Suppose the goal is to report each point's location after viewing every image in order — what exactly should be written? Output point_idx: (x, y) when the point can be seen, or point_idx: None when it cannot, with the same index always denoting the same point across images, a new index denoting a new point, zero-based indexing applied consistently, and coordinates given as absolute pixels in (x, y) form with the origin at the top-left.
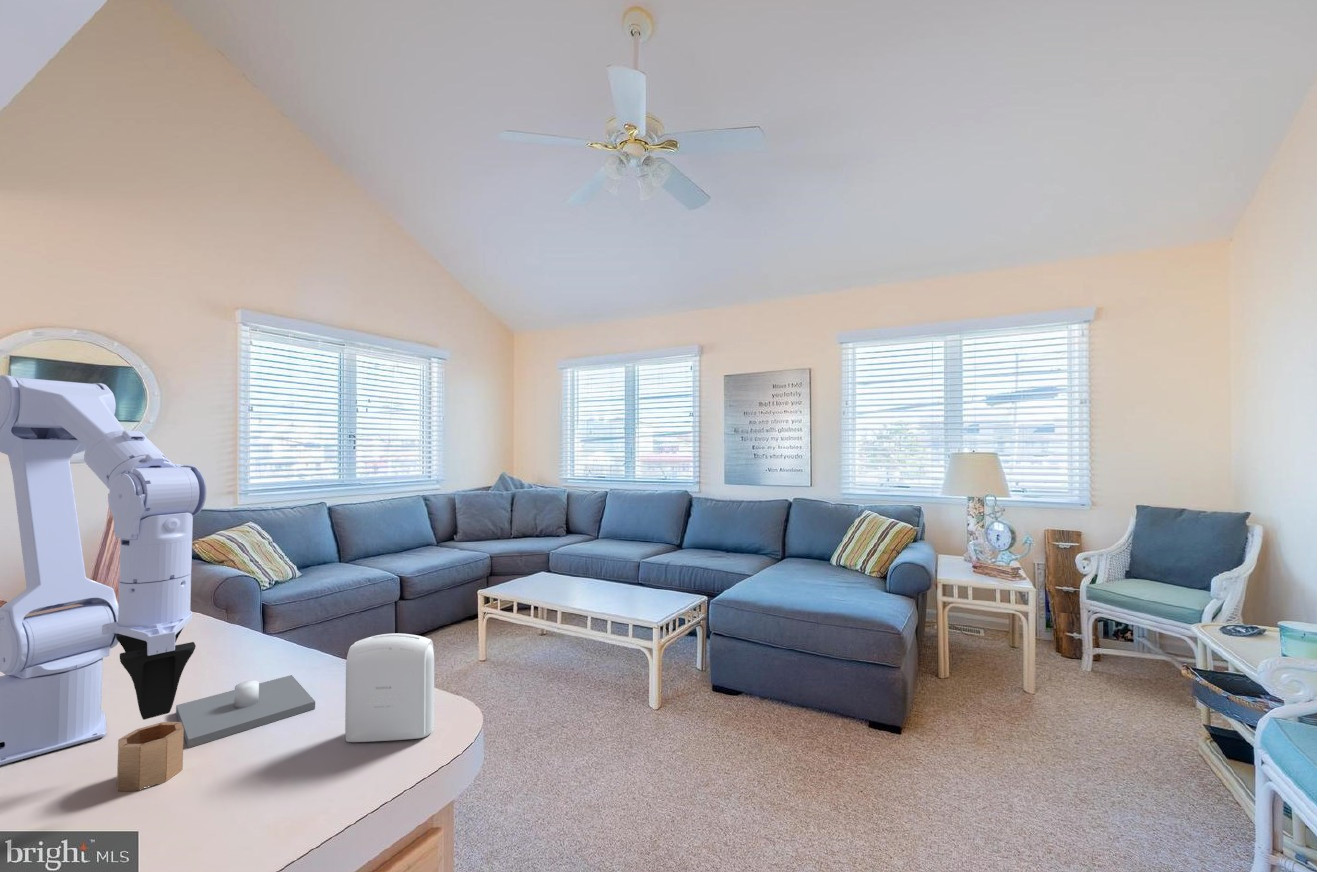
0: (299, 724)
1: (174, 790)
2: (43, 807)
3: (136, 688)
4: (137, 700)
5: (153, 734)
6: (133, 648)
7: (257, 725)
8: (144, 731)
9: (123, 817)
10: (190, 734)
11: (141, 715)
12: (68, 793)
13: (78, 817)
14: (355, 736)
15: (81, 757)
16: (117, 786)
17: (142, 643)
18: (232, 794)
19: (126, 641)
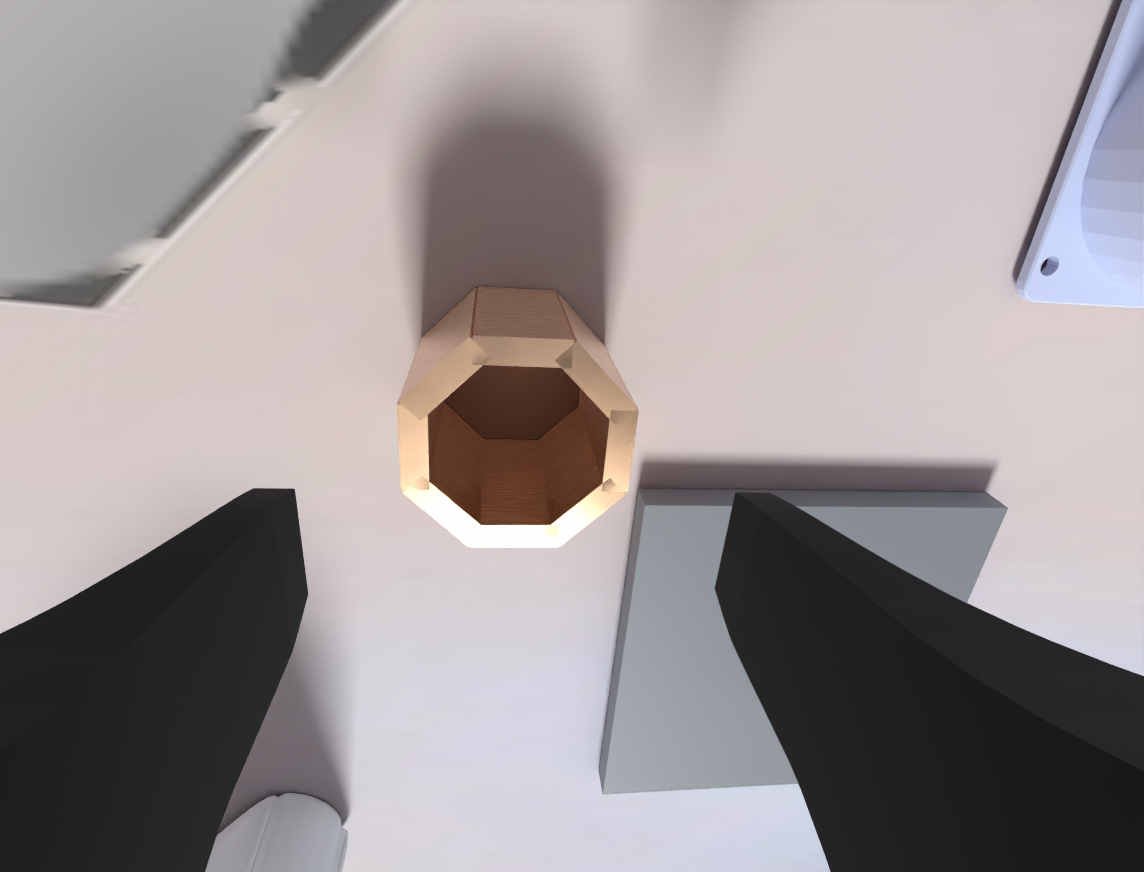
0: (522, 727)
1: (331, 421)
2: (560, 68)
3: (25, 624)
4: (187, 543)
5: (598, 446)
6: (969, 754)
7: (615, 652)
8: (606, 428)
9: (242, 281)
10: (683, 514)
11: (241, 496)
12: (610, 150)
13: (363, 163)
14: (239, 826)
15: (906, 212)
16: (511, 288)
17: (977, 843)
18: (162, 540)
19: (1086, 814)
